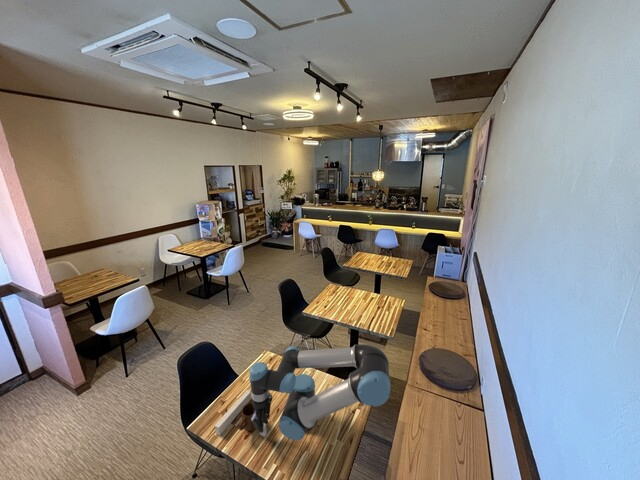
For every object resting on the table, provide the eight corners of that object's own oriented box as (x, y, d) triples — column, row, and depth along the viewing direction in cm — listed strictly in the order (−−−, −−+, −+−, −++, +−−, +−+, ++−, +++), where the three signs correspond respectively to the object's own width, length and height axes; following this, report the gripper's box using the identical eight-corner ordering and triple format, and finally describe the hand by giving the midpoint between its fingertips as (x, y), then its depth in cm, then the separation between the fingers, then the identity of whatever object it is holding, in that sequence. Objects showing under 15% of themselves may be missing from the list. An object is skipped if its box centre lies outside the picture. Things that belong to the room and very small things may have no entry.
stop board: (251, 398, 140) (250, 391, 138) (219, 435, 121) (218, 427, 120) (247, 397, 141) (247, 389, 140) (215, 433, 122) (214, 425, 121)
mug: (247, 442, 118) (246, 427, 115) (234, 437, 121) (232, 422, 118) (261, 419, 129) (260, 404, 126) (249, 414, 131) (247, 400, 129)
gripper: (262, 381, 121) (265, 419, 128) (243, 403, 109) (247, 443, 116) (276, 387, 117) (278, 425, 124) (257, 411, 106) (260, 451, 113)
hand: (263, 434), depth 120 cm, fingers closed
